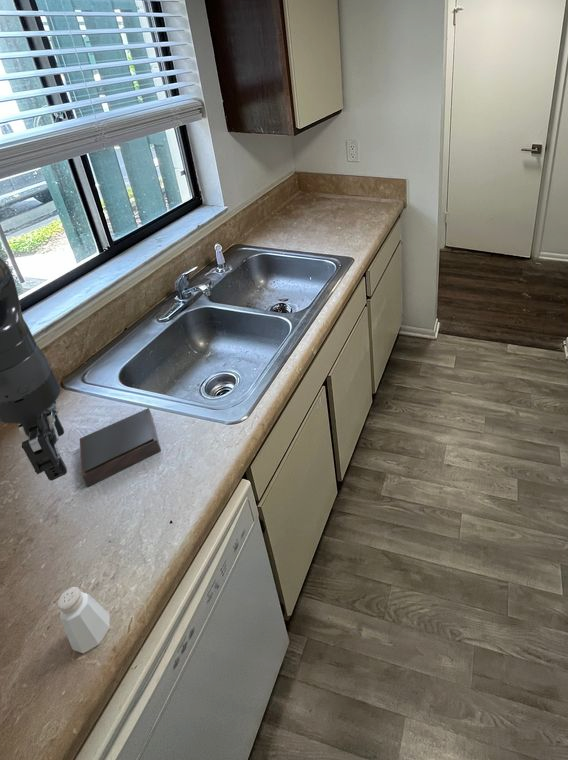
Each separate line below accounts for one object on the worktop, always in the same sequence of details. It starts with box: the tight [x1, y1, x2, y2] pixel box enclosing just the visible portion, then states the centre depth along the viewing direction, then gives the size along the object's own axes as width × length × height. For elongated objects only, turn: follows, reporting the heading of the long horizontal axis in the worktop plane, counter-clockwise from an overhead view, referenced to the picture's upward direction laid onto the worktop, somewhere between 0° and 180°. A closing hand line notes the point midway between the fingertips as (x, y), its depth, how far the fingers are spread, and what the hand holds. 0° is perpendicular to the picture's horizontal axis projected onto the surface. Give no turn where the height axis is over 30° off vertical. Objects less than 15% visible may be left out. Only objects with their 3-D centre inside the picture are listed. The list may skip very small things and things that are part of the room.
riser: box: [79, 407, 162, 488], centre depth 98 cm, size 14×11×4 cm
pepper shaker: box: [56, 586, 111, 654], centre depth 68 cm, size 5×5×11 cm
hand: (57, 455), depth 69 cm, fingers open, 8 cm apart
